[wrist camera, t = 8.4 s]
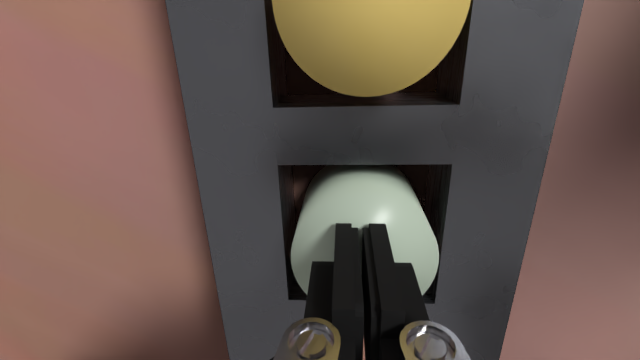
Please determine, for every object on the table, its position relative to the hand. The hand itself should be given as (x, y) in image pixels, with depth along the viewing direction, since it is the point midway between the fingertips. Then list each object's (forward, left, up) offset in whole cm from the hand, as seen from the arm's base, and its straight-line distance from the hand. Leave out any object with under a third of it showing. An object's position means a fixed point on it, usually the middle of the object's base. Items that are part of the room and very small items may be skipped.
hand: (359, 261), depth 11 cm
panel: (0, 0, -4) cm, 4 cm away
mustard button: (0, -8, -4) cm, 9 cm away
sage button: (0, 0, -4) cm, 4 cm away
